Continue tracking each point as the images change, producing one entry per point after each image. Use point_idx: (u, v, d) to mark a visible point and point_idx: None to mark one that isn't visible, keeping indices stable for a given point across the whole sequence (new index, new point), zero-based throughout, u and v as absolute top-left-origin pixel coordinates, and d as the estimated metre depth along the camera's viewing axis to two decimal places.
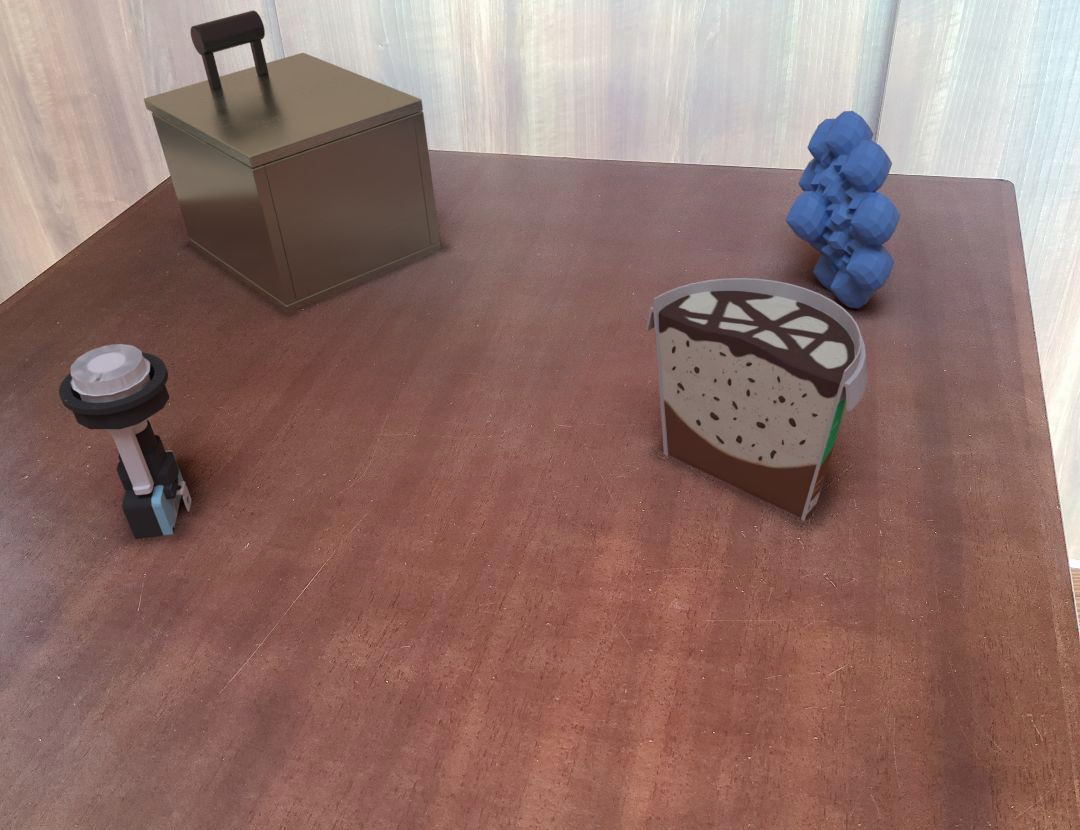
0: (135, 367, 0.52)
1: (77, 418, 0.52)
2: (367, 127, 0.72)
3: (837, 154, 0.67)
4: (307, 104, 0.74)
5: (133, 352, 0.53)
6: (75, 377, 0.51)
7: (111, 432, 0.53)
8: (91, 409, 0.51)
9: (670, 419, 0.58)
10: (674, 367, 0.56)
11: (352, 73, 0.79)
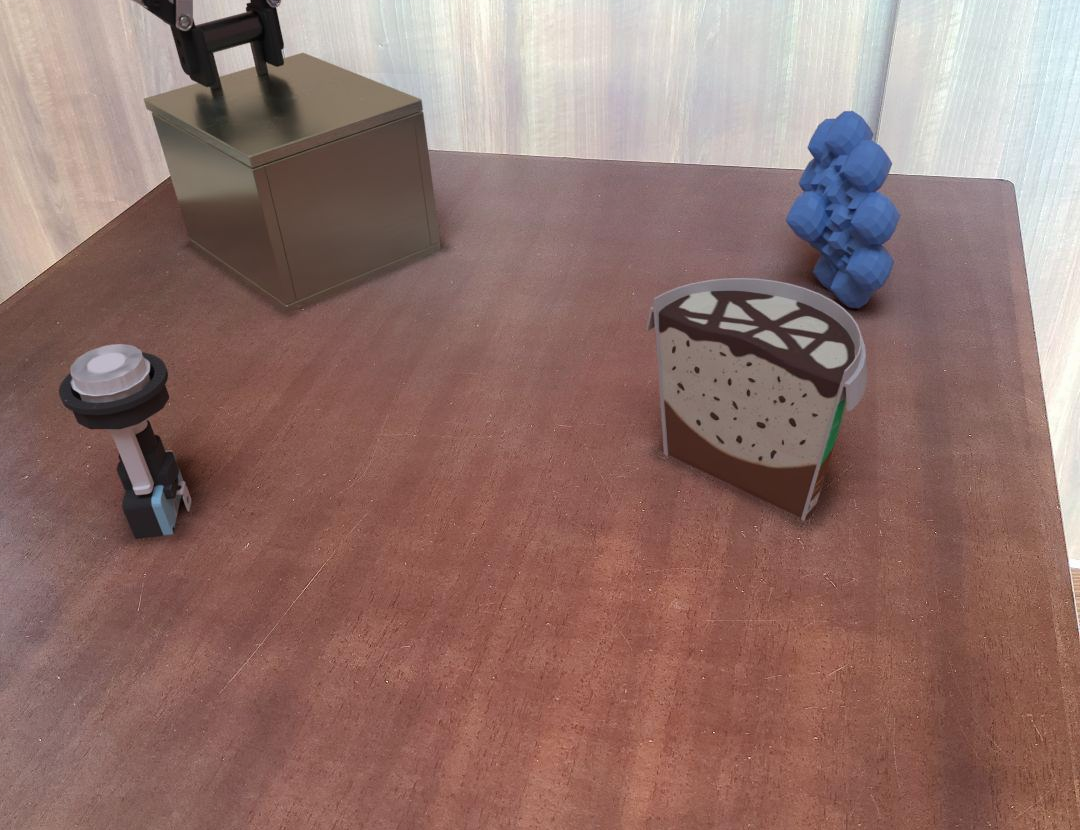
0: (135, 367, 0.52)
1: (77, 418, 0.52)
2: (367, 127, 0.72)
3: (837, 154, 0.67)
4: (307, 104, 0.74)
5: (133, 352, 0.53)
6: (75, 377, 0.51)
7: (111, 432, 0.53)
8: (91, 409, 0.51)
9: (670, 419, 0.58)
10: (674, 367, 0.56)
11: (352, 73, 0.79)
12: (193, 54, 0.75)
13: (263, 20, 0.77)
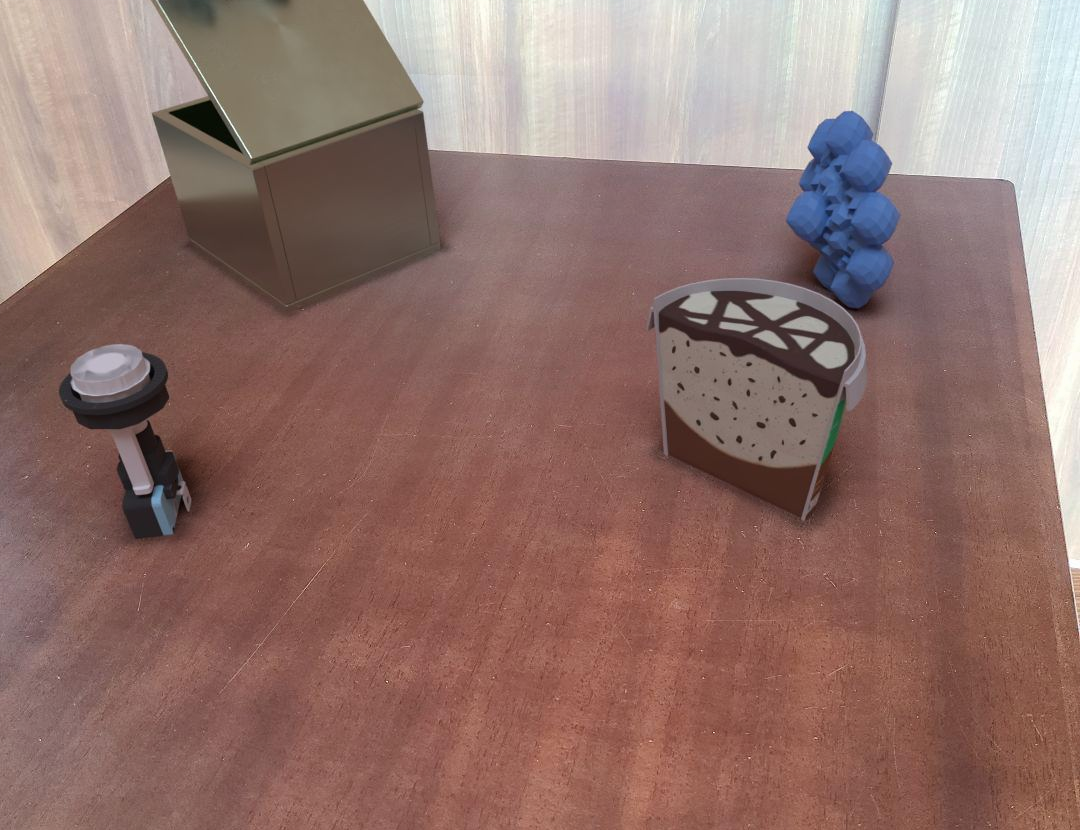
0: (135, 367, 0.52)
1: (77, 418, 0.52)
2: (365, 125, 0.72)
3: (837, 154, 0.67)
4: (309, 55, 0.70)
5: (133, 352, 0.53)
6: (75, 377, 0.51)
7: (111, 432, 0.53)
8: (91, 409, 0.51)
9: (670, 419, 0.58)
10: (674, 367, 0.56)
11: None
12: None
13: None
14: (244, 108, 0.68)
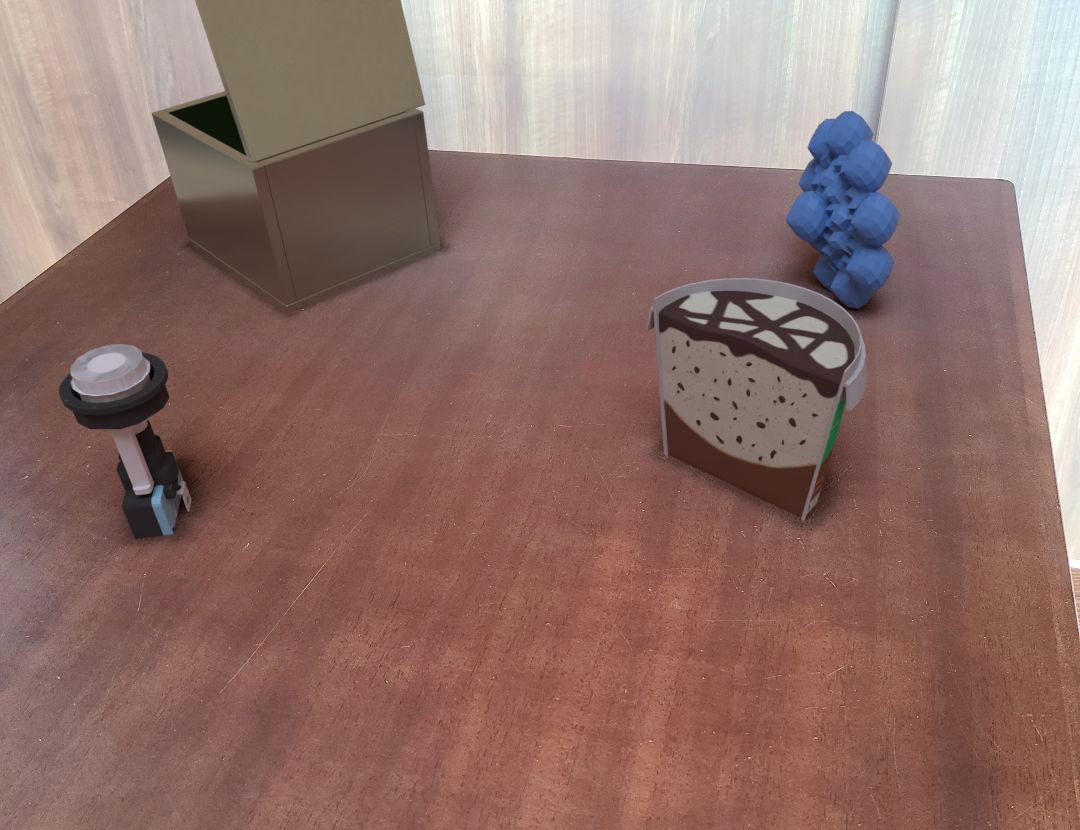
0: (135, 366, 0.52)
1: (77, 418, 0.52)
2: None
3: (837, 154, 0.67)
4: (328, 41, 0.68)
5: (133, 352, 0.53)
6: (75, 377, 0.51)
7: (111, 432, 0.53)
8: (91, 409, 0.51)
9: (670, 419, 0.58)
10: (674, 367, 0.56)
11: None
12: None
13: None
14: (255, 102, 0.66)
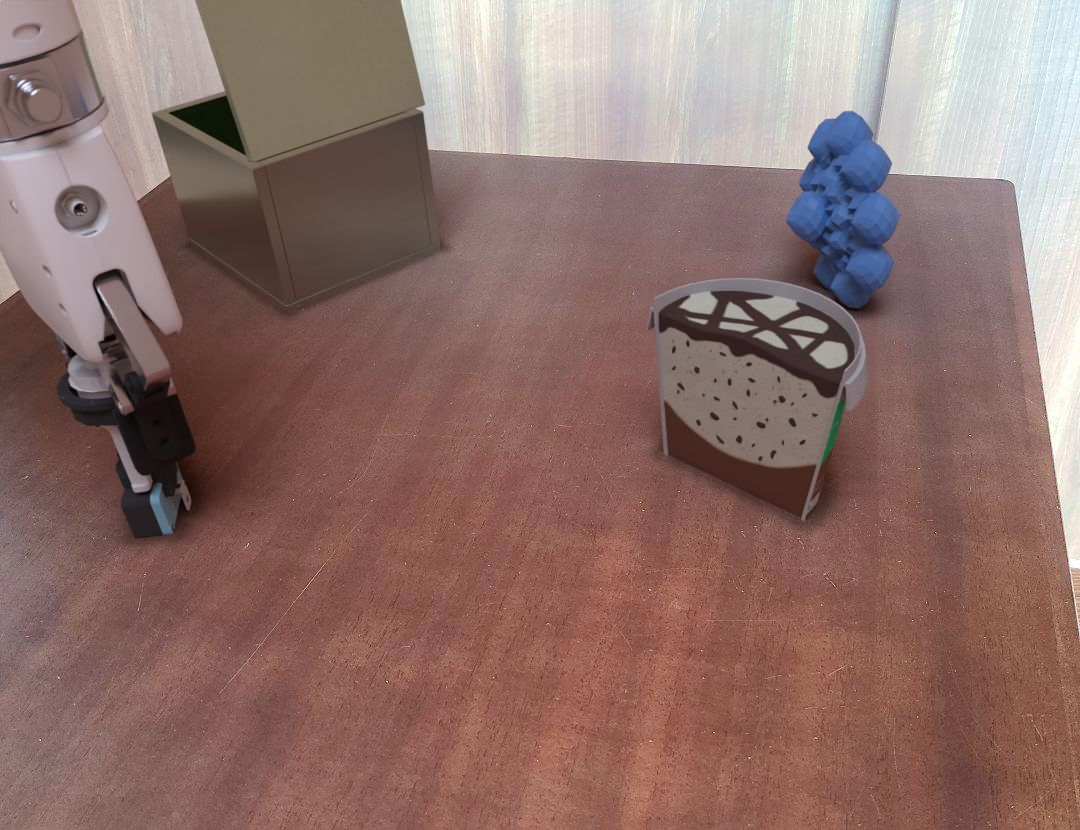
0: None
1: (75, 415, 0.52)
2: None
3: (837, 154, 0.67)
4: (328, 41, 0.68)
5: None
6: (72, 374, 0.51)
7: (109, 429, 0.53)
8: (88, 405, 0.51)
9: (670, 419, 0.58)
10: (674, 367, 0.56)
11: None
12: None
13: None
14: (255, 102, 0.66)
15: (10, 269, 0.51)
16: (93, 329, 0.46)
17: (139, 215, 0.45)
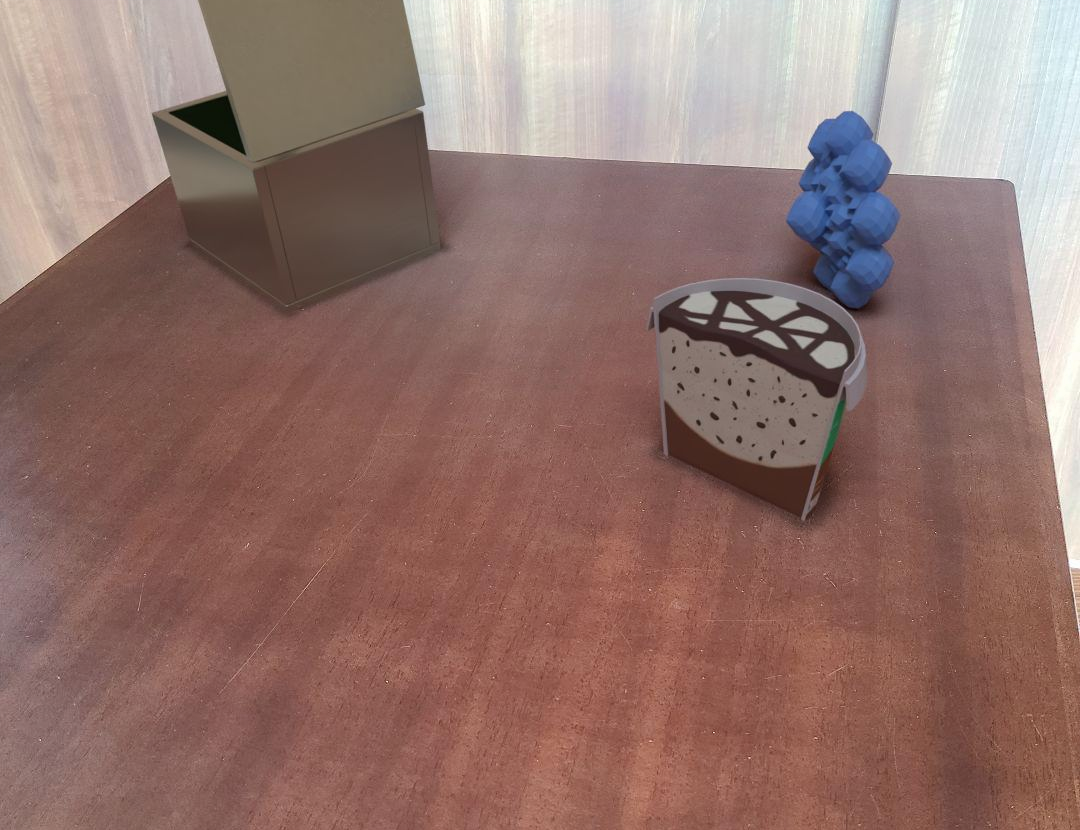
0: None
1: None
2: None
3: (837, 154, 0.67)
4: (330, 41, 0.67)
5: None
6: None
7: None
8: None
9: (670, 419, 0.58)
10: (674, 367, 0.56)
11: None
12: None
13: None
14: (256, 102, 0.66)
15: None
16: None
17: None
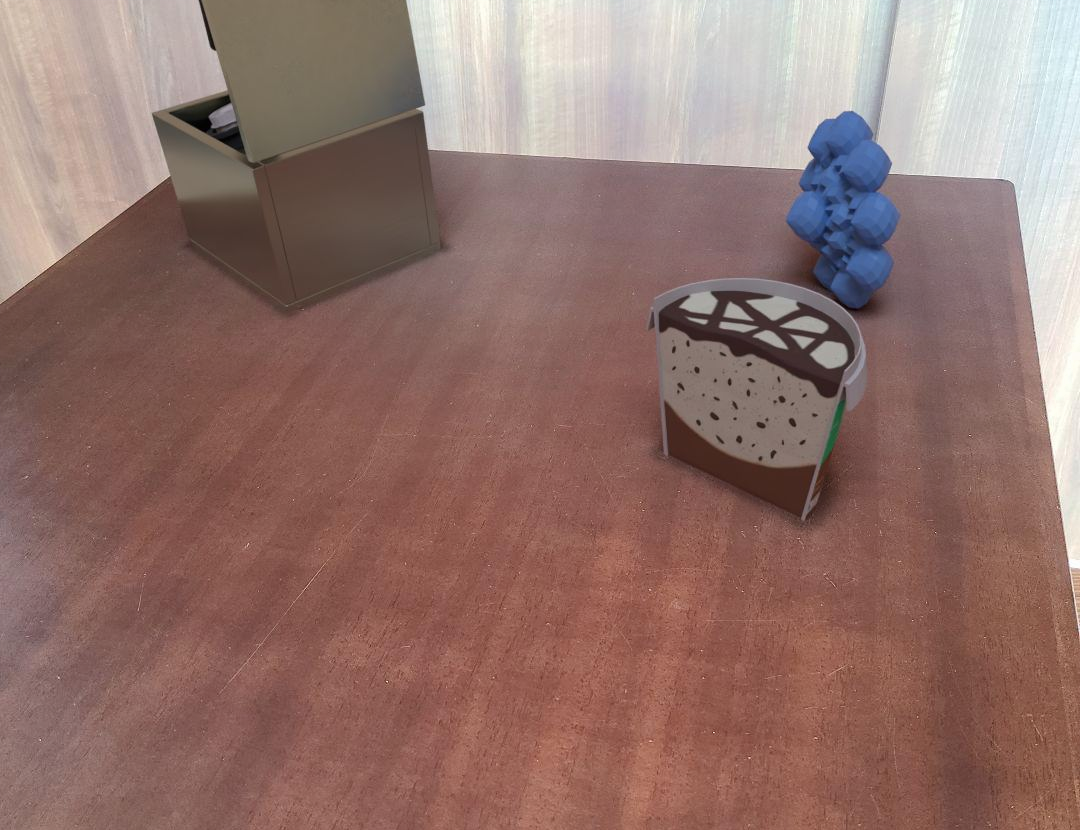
0: None
1: None
2: None
3: (837, 154, 0.67)
4: (332, 42, 0.67)
5: None
6: (211, 117, 0.76)
7: None
8: (224, 132, 0.75)
9: (670, 419, 0.58)
10: (674, 367, 0.56)
11: None
12: None
13: None
14: (258, 103, 0.66)
15: None
16: None
17: None
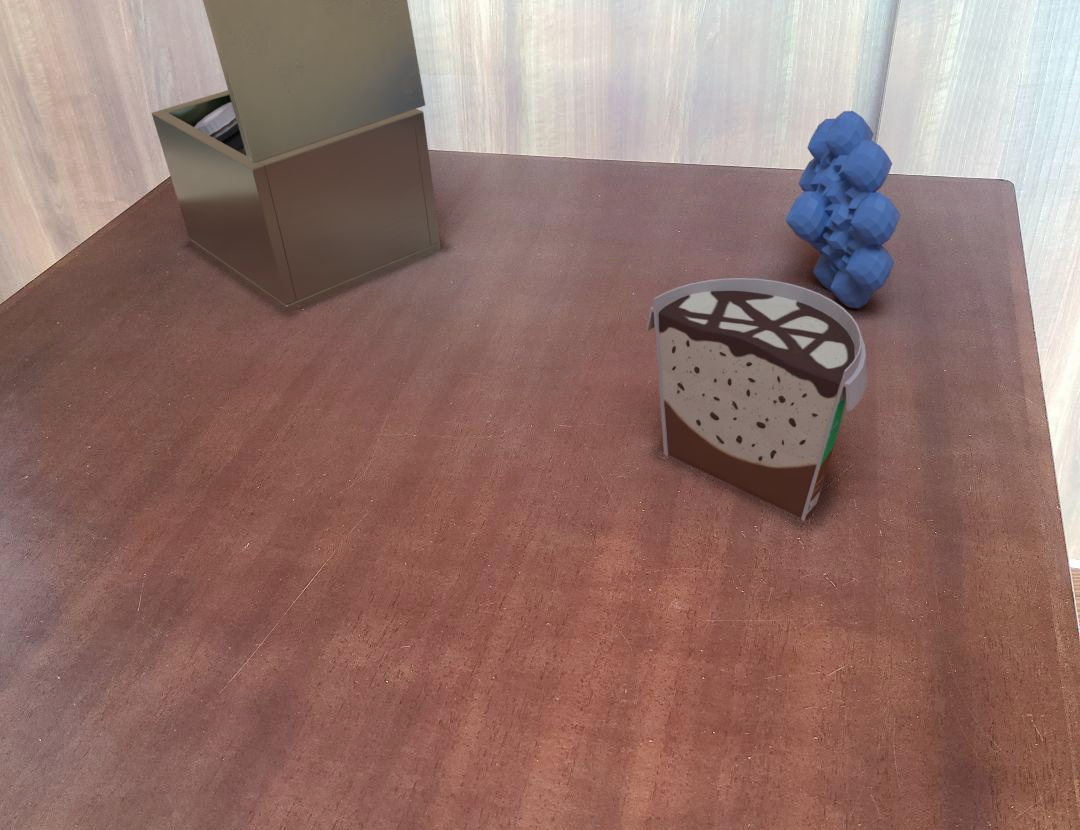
0: (229, 108, 0.75)
1: None
2: None
3: (837, 154, 0.67)
4: (333, 42, 0.67)
5: (228, 104, 0.77)
6: (196, 128, 0.76)
7: None
8: None
9: (670, 419, 0.58)
10: (674, 367, 0.56)
11: None
12: None
13: None
14: (258, 103, 0.66)
15: None
16: None
17: None
